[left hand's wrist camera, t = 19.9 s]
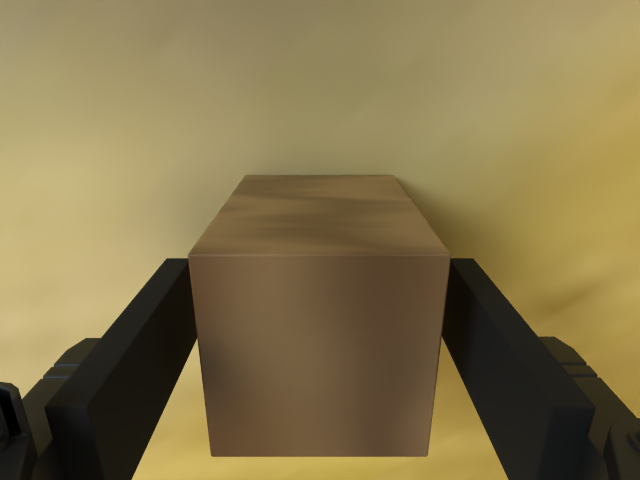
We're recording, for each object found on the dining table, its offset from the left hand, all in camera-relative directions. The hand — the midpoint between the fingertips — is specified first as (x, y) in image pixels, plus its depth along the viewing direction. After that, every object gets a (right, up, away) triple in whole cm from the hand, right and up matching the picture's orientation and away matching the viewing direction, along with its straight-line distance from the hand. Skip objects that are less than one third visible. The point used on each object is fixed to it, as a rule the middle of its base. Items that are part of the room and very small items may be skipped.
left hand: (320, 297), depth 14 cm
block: (0, +2, +4) cm, 5 cm away
